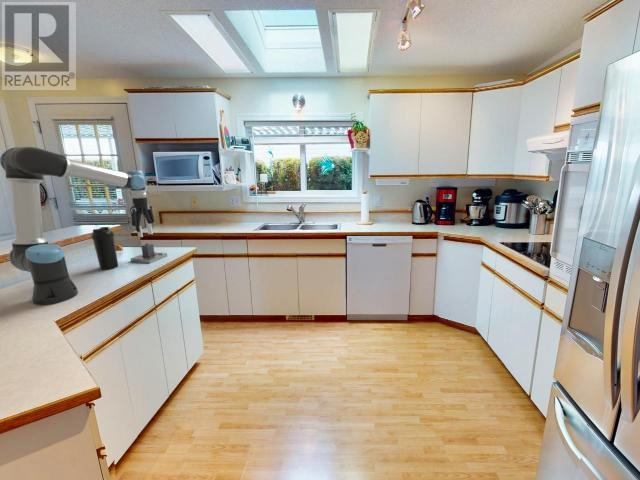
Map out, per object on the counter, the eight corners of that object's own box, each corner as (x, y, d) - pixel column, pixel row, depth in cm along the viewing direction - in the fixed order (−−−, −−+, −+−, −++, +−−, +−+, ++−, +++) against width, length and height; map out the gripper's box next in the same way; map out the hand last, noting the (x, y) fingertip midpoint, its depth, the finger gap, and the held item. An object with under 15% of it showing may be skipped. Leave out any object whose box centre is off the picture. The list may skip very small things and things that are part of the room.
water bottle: (124, 264, 174) (116, 226, 168) (110, 270, 164) (102, 230, 158) (108, 264, 175) (100, 226, 169) (93, 270, 165) (85, 230, 160)
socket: (149, 263, 176) (149, 259, 175) (130, 261, 179) (130, 257, 179) (167, 256, 189) (166, 252, 188) (149, 254, 192) (148, 250, 192)
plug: (149, 260, 181) (146, 244, 179) (143, 259, 183) (140, 243, 180) (155, 258, 185) (152, 242, 183) (149, 257, 187) (146, 241, 184)
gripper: (130, 199, 164) (137, 239, 170) (157, 195, 183) (163, 232, 189) (119, 199, 166) (126, 239, 172) (147, 195, 185) (153, 231, 190)
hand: (145, 235), depth 180 cm, fingers open, 7 cm apart
